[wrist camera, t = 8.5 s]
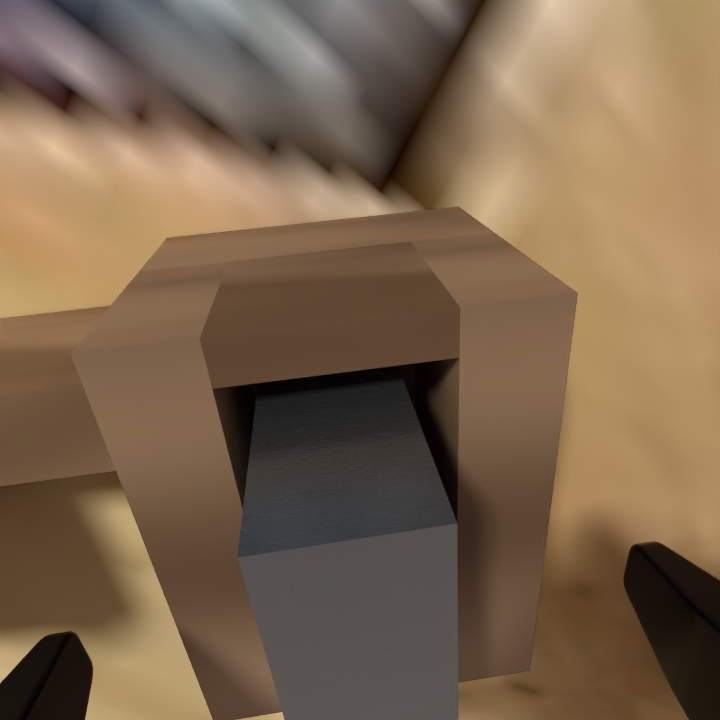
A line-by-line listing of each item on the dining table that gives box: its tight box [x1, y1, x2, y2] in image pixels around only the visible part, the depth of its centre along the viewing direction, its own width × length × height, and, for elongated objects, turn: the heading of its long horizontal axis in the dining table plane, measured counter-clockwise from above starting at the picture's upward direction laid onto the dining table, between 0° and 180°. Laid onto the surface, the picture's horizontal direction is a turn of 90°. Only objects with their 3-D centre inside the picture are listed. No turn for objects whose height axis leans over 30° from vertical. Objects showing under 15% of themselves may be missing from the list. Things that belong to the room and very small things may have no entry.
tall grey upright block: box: [237, 366, 458, 720], centre depth 10 cm, size 6×2×6 cm, turn 5°
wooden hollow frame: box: [0, 207, 578, 720], centre depth 10 cm, size 9×19×9 cm, turn 95°
